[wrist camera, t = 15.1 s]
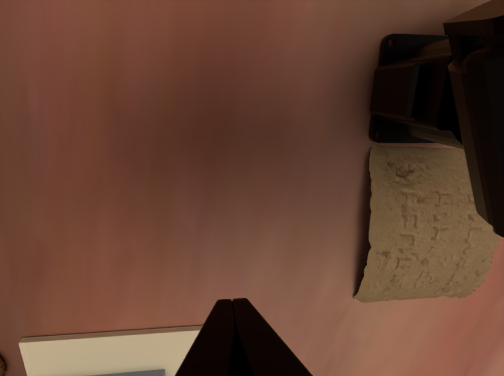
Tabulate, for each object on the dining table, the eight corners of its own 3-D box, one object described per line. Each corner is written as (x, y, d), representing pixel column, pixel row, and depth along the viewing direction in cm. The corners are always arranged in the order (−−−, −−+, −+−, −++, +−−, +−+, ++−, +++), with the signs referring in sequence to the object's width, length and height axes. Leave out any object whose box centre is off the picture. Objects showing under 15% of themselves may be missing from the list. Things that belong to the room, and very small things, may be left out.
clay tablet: (457, 297, 27) (483, 319, 24) (345, 308, 26) (360, 333, 23) (494, 129, 23) (530, 135, 20) (361, 135, 21) (381, 141, 19)
